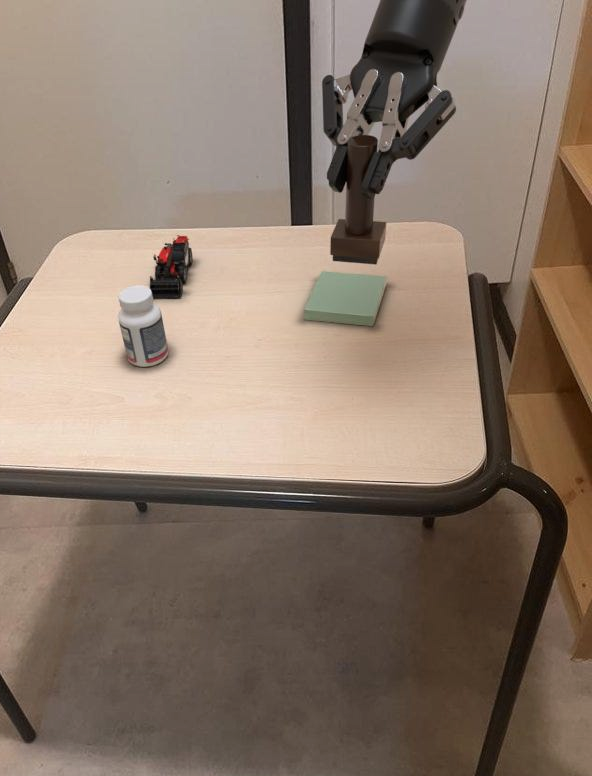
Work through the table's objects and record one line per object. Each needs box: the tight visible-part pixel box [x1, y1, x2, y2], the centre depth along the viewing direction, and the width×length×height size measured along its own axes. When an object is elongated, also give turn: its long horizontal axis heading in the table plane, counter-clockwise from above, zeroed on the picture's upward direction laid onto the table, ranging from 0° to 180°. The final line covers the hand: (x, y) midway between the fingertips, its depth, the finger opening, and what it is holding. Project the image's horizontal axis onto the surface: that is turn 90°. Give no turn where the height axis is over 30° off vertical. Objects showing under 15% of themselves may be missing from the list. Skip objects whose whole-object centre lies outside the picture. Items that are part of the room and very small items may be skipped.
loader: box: [149, 234, 193, 298], centre depth 103 cm, size 12×5×5 cm, turn 173°
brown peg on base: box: [329, 134, 387, 265], centre depth 71 cm, size 5×4×12 cm
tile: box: [303, 270, 388, 327], centre depth 96 cm, size 9×10×2 cm
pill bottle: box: [117, 285, 169, 368], centre depth 88 cm, size 5×5×9 cm
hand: (350, 191), depth 69 cm, fingers closed on brown peg on base, 3 cm apart
